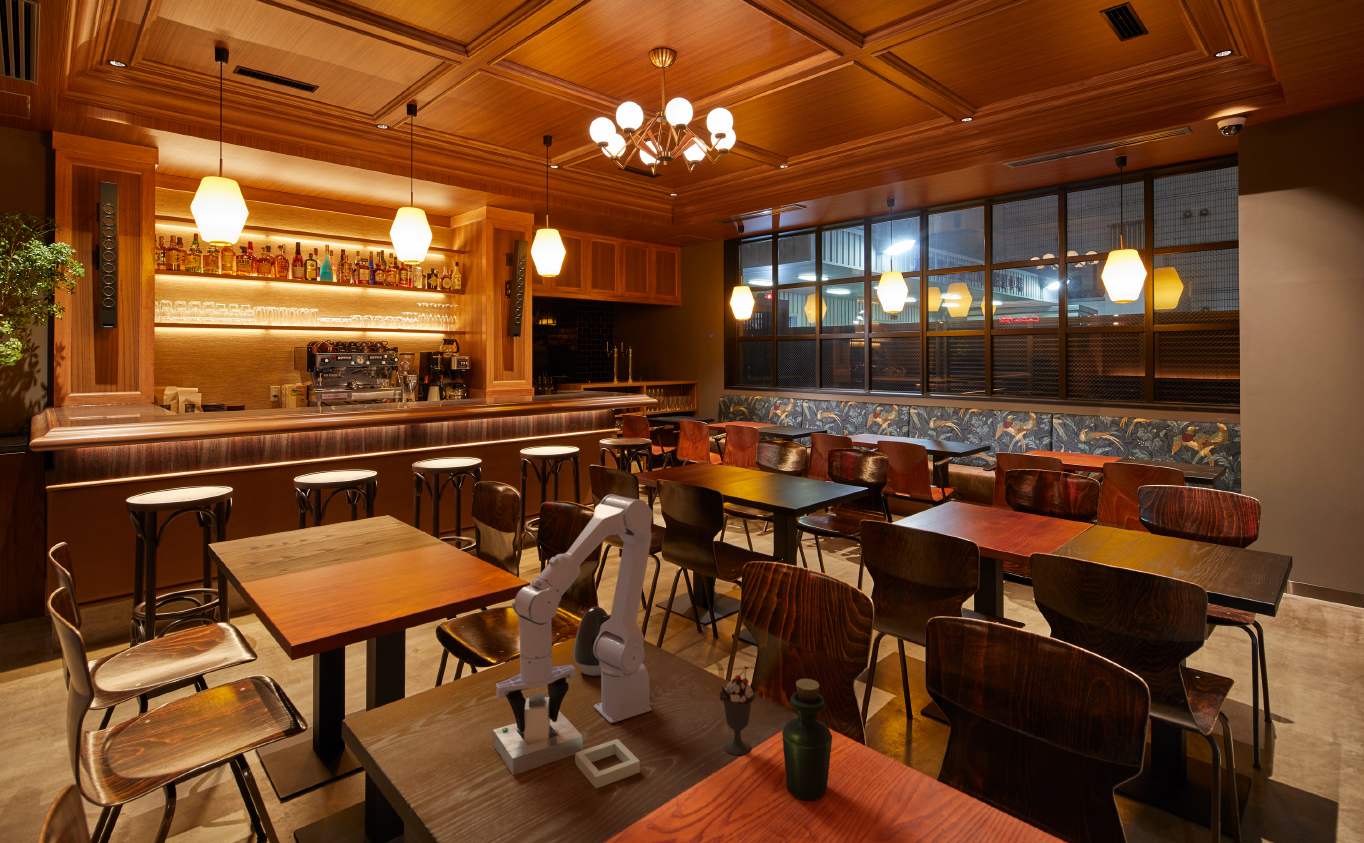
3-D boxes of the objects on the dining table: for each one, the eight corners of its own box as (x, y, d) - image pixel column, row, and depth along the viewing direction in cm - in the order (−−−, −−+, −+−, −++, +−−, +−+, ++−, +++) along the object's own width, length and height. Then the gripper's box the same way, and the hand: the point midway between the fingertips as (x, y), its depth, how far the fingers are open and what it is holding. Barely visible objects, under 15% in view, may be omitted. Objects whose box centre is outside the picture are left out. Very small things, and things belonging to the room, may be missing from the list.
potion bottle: (819, 771, 114) (820, 670, 113) (840, 801, 106) (841, 693, 105) (774, 777, 112) (775, 675, 111) (792, 808, 104) (793, 698, 103)
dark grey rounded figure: (599, 685, 146) (598, 618, 145) (564, 674, 151) (563, 609, 150) (627, 668, 154) (627, 605, 153) (593, 658, 160) (593, 597, 159)
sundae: (760, 742, 123) (760, 664, 122) (748, 761, 117) (748, 679, 116) (727, 734, 126) (727, 658, 125) (714, 752, 120) (714, 672, 119)
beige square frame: (617, 749, 121) (617, 738, 121) (639, 772, 114) (639, 761, 114) (575, 763, 116) (575, 753, 116) (595, 788, 109) (595, 777, 109)
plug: (550, 732, 123) (549, 691, 123) (548, 745, 119) (547, 702, 119) (527, 734, 123) (526, 692, 122) (524, 746, 119) (523, 704, 118)
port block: (559, 724, 129) (559, 708, 129) (582, 751, 120) (582, 734, 120) (493, 745, 122) (493, 728, 122) (513, 775, 113) (512, 756, 113)
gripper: (564, 636, 127) (565, 704, 128) (489, 653, 119) (491, 726, 120) (579, 649, 121) (580, 720, 122) (502, 668, 113) (503, 744, 114)
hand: (537, 724), depth 121 cm, fingers closed on plug, 6 cm apart
